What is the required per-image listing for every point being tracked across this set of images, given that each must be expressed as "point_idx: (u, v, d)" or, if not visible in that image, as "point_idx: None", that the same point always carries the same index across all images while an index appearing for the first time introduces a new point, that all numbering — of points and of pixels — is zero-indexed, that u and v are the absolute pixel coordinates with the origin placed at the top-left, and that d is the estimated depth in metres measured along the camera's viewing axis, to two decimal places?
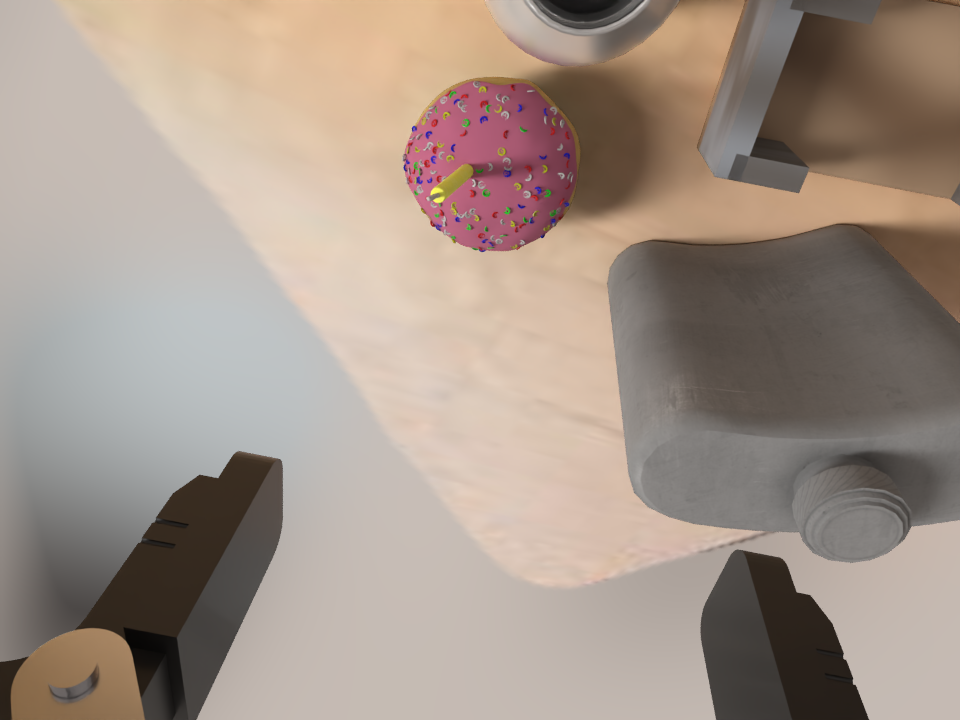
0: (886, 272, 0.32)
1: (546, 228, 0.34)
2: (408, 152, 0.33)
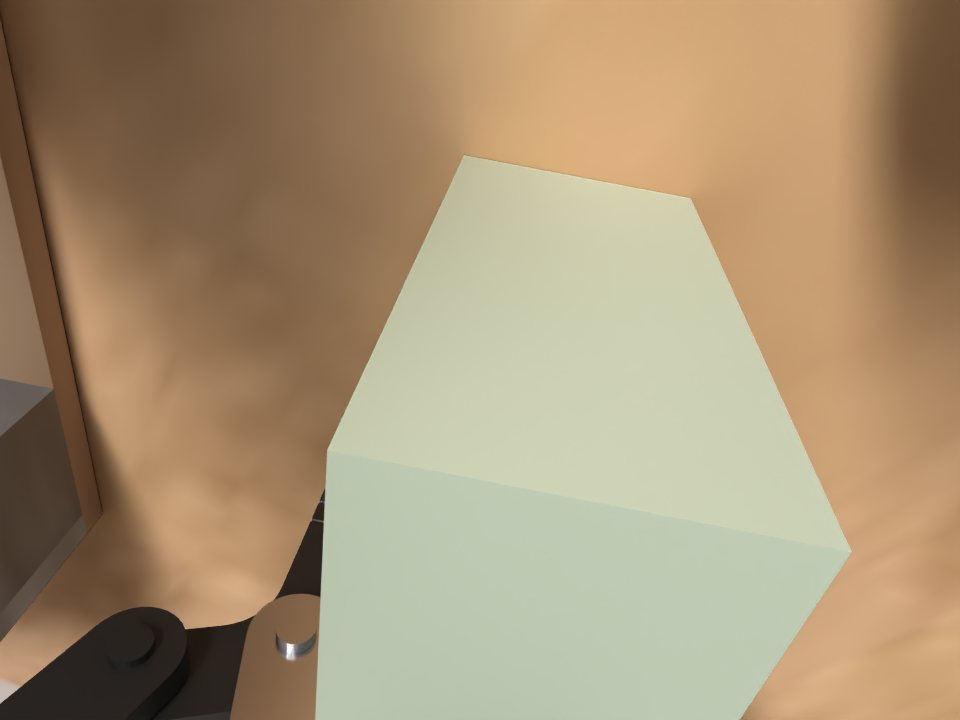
0: None
1: None
2: None
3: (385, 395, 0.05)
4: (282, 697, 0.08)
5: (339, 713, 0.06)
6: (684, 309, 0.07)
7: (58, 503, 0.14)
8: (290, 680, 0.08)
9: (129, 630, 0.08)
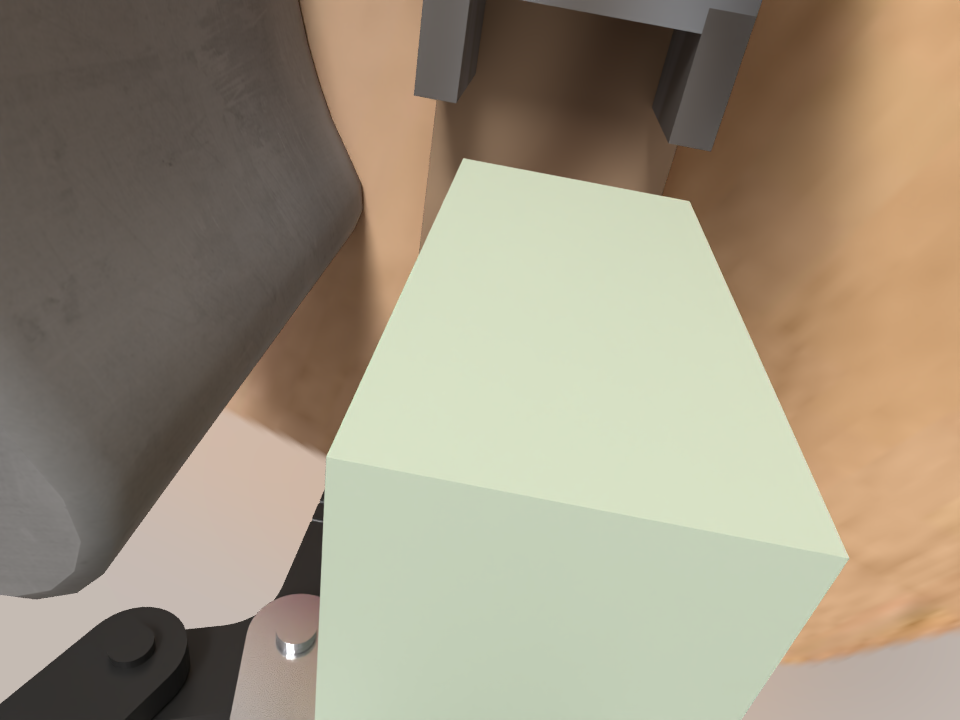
0: (308, 256, 0.21)
1: None
2: None
3: (384, 401, 0.05)
4: (282, 697, 0.08)
5: (338, 718, 0.06)
6: (683, 313, 0.07)
7: None
8: (291, 681, 0.08)
9: (128, 630, 0.08)
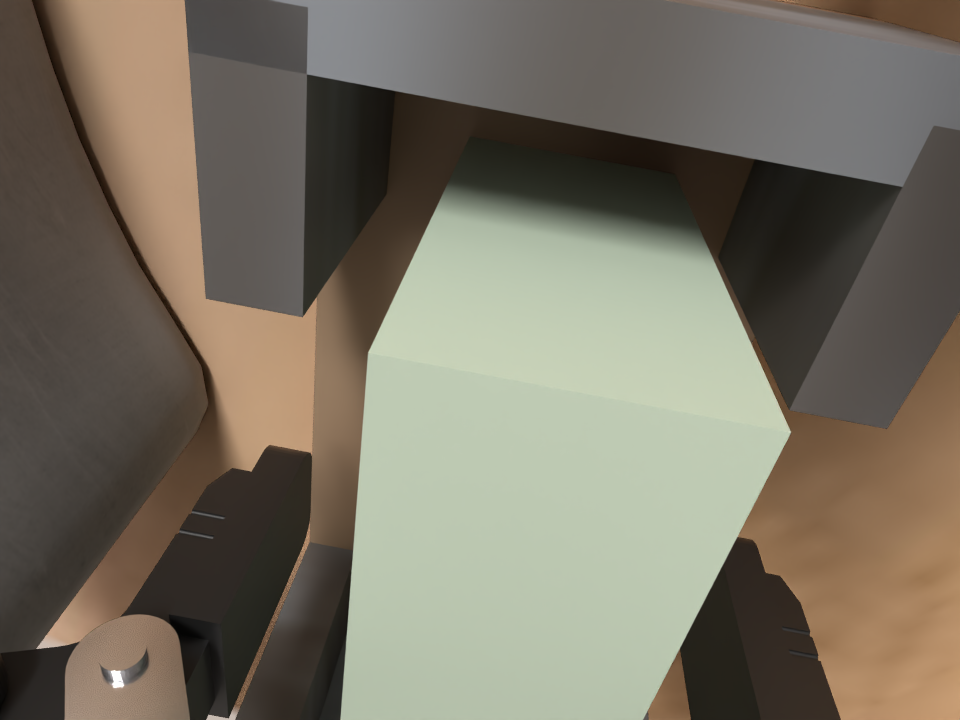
0: (14, 609, 0.10)
1: None
2: None
3: (412, 317, 0.06)
4: None
5: (369, 600, 0.07)
6: (664, 260, 0.08)
7: None
8: (129, 707, 0.08)
9: None
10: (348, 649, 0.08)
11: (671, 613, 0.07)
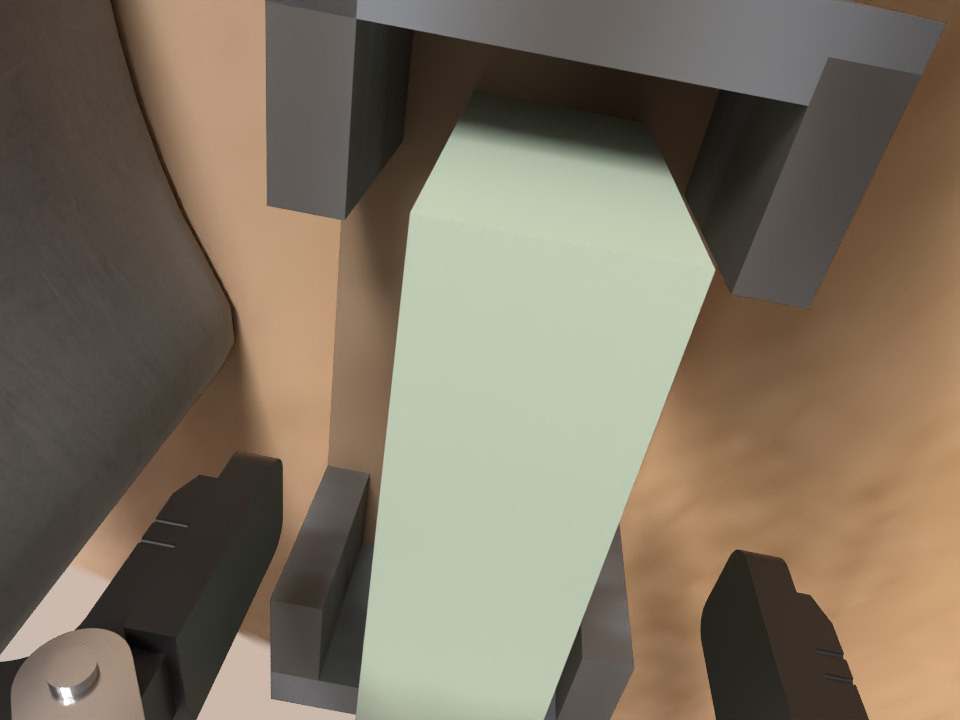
0: (92, 480, 0.12)
1: None
2: None
3: (439, 196, 0.08)
4: None
5: (402, 430, 0.09)
6: (632, 175, 0.10)
7: None
8: None
9: None
10: (384, 476, 0.10)
11: (634, 430, 0.09)
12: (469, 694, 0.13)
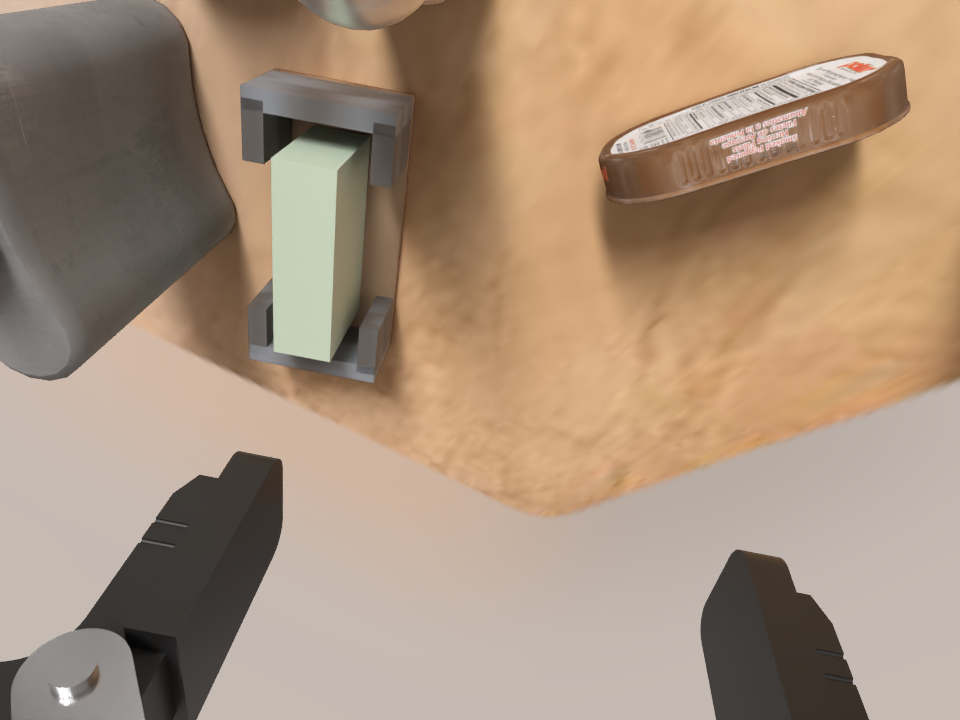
0: (191, 246, 0.40)
1: None
2: None
3: (280, 155, 0.36)
4: None
5: (275, 215, 0.37)
6: (341, 151, 0.38)
7: (388, 333, 0.48)
8: None
9: None
10: (272, 230, 0.37)
11: (331, 213, 0.37)
12: (307, 314, 0.40)
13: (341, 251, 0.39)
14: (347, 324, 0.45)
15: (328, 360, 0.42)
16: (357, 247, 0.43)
